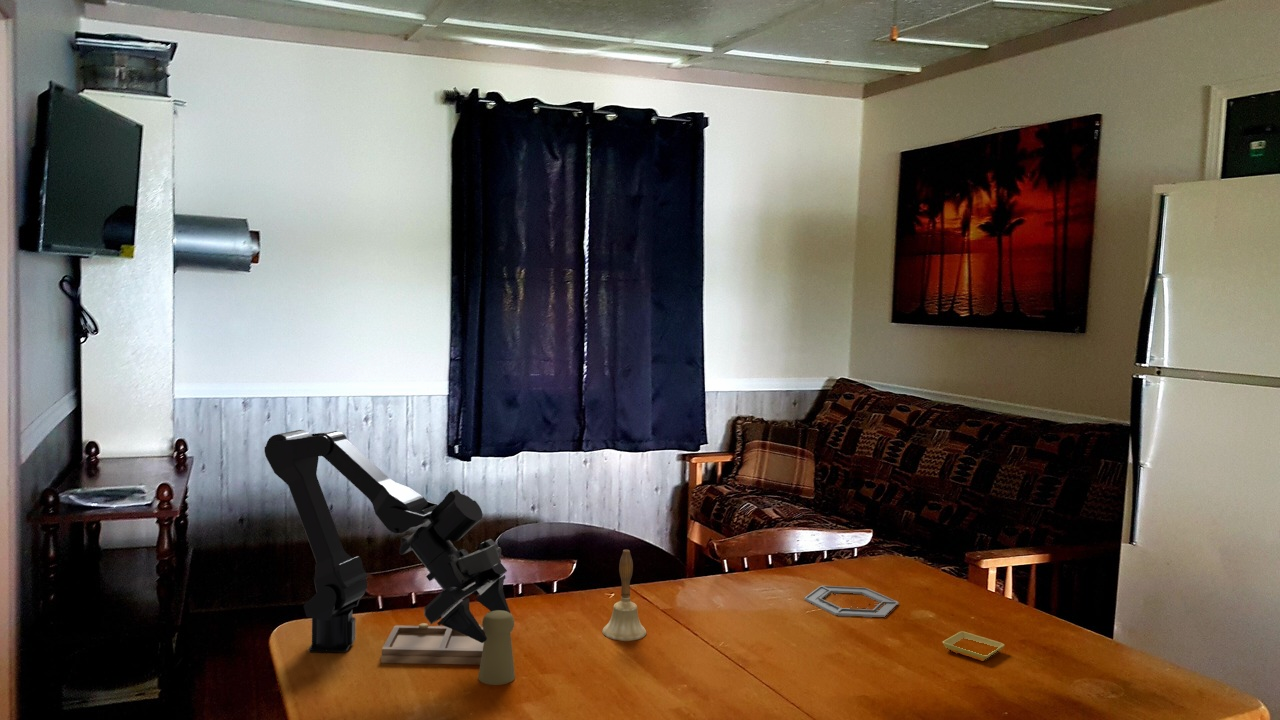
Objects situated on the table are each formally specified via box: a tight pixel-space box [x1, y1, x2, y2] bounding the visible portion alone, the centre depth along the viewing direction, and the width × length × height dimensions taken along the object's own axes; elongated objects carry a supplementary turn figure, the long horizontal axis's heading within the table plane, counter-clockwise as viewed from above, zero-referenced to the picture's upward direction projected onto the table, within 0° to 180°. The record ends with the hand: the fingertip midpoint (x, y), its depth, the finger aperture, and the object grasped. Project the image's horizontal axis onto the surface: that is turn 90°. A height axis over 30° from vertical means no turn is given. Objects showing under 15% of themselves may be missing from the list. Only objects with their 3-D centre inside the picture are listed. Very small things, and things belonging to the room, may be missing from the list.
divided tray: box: [380, 622, 485, 666], centre depth 168 cm, size 20×12×3 cm, turn 93°
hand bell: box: [601, 549, 647, 642], centre depth 179 cm, size 8×8×16 cm
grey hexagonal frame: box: [803, 585, 899, 618], centre depth 202 cm, size 17×20×1 cm
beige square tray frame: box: [942, 631, 1005, 660], centre depth 177 cm, size 9×9×2 cm
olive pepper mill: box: [477, 610, 516, 686], centre depth 157 cm, size 6×6×11 cm
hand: (498, 631), depth 157 cm, fingers open, 9 cm apart
